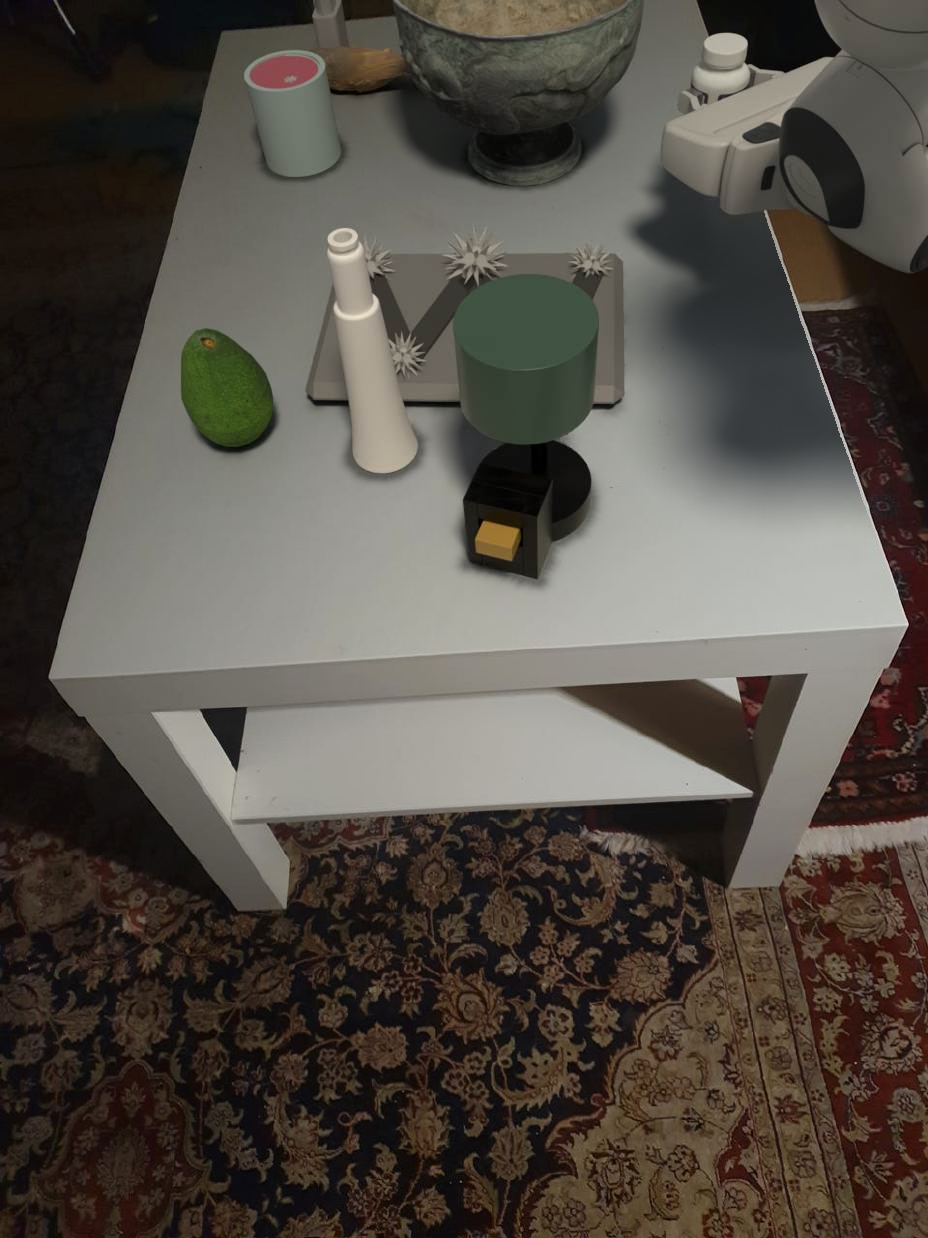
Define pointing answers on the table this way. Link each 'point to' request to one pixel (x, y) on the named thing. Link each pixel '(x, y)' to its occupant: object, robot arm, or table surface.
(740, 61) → the pill bottle
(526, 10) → the decorative bowl
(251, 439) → the fruit
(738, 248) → the table surface
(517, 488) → the desk lamp
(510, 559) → the lamp switch
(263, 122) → the mug
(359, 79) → the bird model
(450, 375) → the decorative plate
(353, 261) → the cosmetic bottle
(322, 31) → the power adapter
